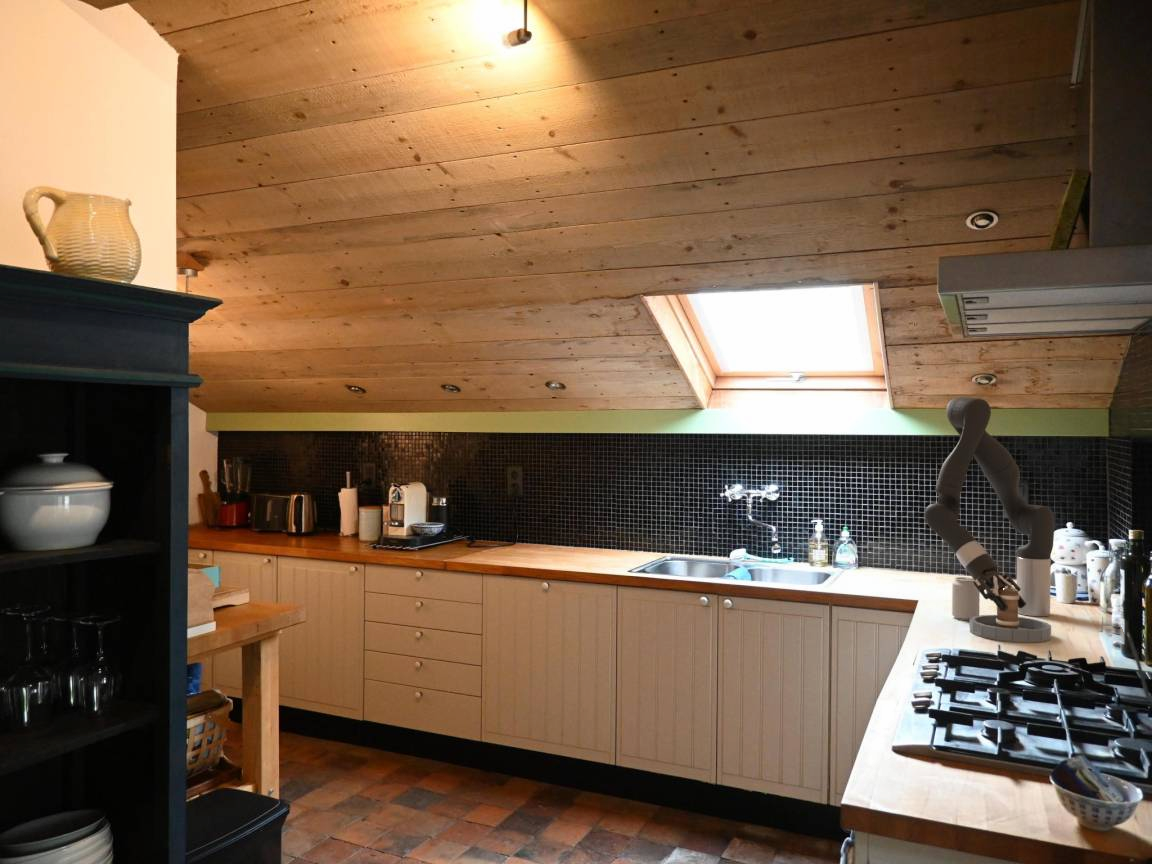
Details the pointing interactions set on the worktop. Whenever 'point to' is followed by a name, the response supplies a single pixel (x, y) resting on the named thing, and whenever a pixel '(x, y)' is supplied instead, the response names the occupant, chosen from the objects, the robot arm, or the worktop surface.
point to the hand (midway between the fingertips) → (1014, 608)
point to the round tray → (1011, 630)
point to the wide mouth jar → (965, 598)
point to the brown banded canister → (1008, 609)
